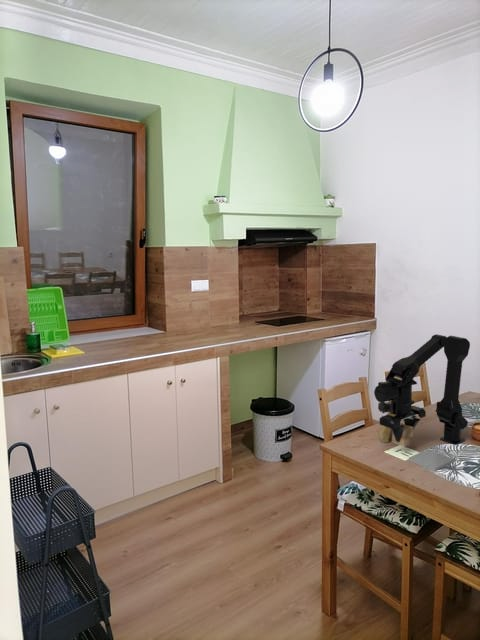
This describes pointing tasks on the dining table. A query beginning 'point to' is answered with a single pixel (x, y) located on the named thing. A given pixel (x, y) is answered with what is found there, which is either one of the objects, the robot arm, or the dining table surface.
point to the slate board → (431, 460)
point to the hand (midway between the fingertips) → (402, 439)
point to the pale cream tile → (401, 452)
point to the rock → (385, 432)
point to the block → (404, 436)
